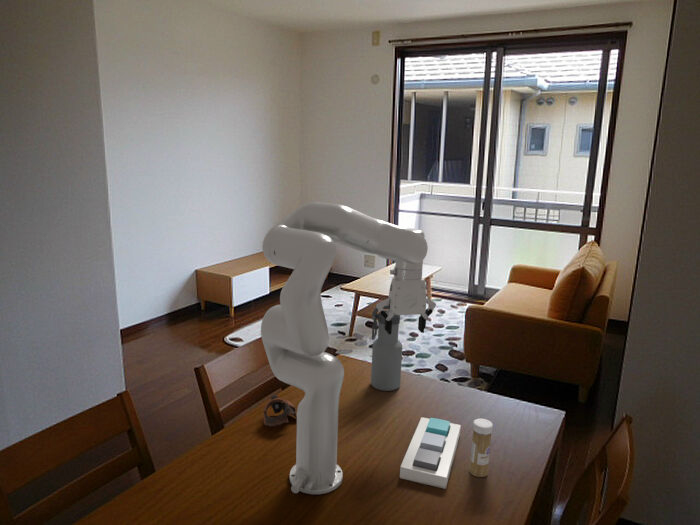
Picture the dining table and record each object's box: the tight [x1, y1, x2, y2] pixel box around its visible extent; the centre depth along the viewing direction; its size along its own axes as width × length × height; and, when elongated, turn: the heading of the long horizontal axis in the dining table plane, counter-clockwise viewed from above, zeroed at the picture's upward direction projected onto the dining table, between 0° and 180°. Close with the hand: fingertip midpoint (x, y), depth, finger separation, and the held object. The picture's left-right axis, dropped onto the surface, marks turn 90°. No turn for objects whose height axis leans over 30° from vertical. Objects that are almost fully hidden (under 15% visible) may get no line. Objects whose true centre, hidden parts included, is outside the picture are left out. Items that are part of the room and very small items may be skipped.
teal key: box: [426, 417, 451, 437], centre depth 140 cm, size 5×5×2 cm
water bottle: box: [370, 305, 403, 392], centre depth 169 cm, size 10×10×28 cm
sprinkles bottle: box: [468, 418, 494, 478], centre depth 126 cm, size 5×5×13 cm
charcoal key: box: [414, 448, 440, 471], centre depth 126 cm, size 5×5×2 cm
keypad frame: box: [399, 416, 462, 490], centre depth 133 cm, size 25×11×3 cm, turn 161°
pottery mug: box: [263, 394, 297, 427], centre depth 147 cm, size 12×10×8 cm
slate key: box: [420, 432, 445, 453], centre depth 133 cm, size 5×5×2 cm
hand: (404, 331), depth 147 cm, fingers open, 9 cm apart
